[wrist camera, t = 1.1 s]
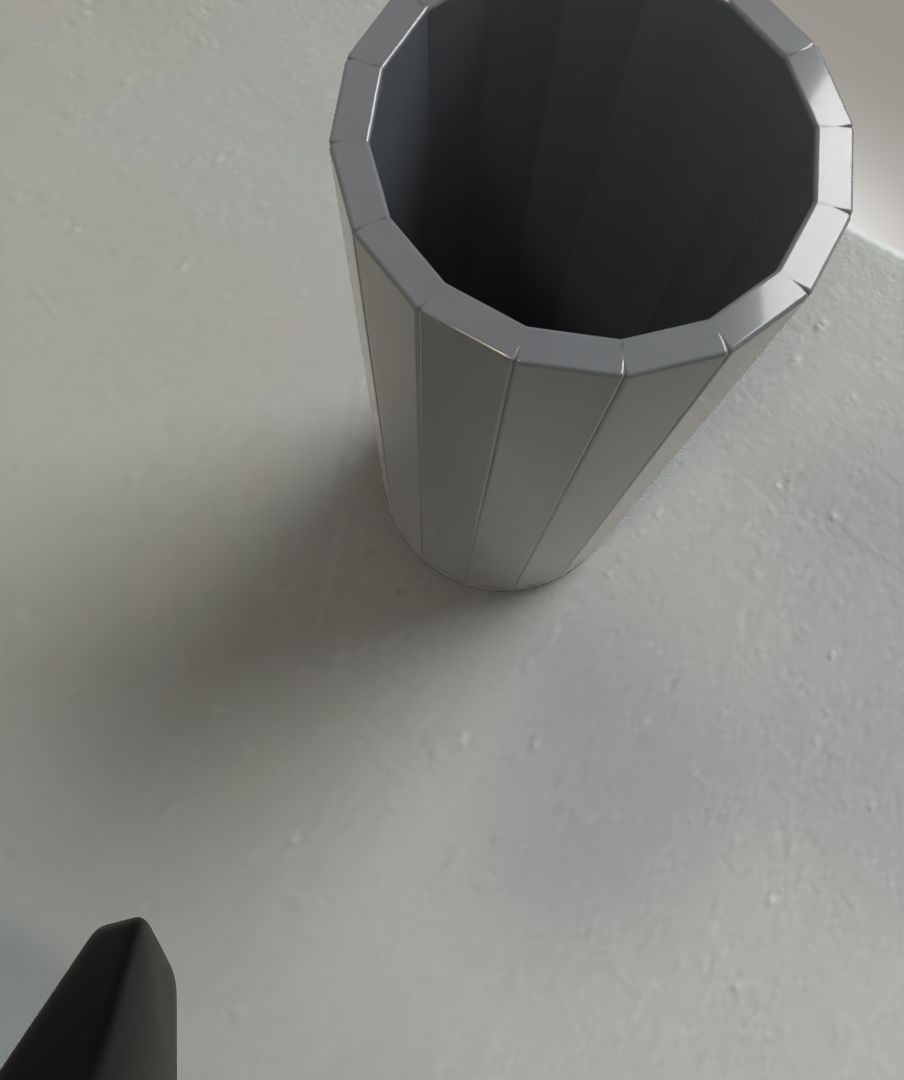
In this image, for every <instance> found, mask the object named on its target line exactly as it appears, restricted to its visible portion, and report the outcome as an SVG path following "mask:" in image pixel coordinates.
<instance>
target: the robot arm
mask: <svg viewBox="0 0 904 1080" xmlns="http://www.w3.org/2000/svg"><path fill="white" fill-rule="evenodd" d="M0 1080H177V995H176V983H175V977H174V974H173V970H172V968H171V965H170V963H169V962H168V960H167V958H166V956H165V954H164V952H163V950H162V948H161V946H160V944H159V942H158V940H157V938H156V937H155V935H154V933H153V931H152V929H151V927H150V925H149V924H148V922H147V921H146V920H144V919H143V918H141V917H135V918H131V919H127V920H123V921H119V922H115V923H112V924H108V925H105V926H102V927H100V928H99V929H97V930H96V931H95V932H94V933H93V934H92V936H91V937H90V938H89V940H88V941H87V943H86V944H85V946H84V947H83V948H82V950H81V951H80V953H79V954H78V956H77V957H76V959H75V960H74V962H73V963H72V965H71V966H70V968H69V969H68V971H67V972H66V974H65V975H64V977H63V978H62V980H61V981H60V982H59V984H58V985H57V987H56V988H55V990H54V991H53V993H52V994H51V996H50V997H49V999H48V1000H47V1002H46V1003H45V1005H44V1006H43V1008H42V1009H41V1011H40V1012H39V1014H38V1015H37V1016H36V1018H35V1019H34V1021H33V1022H32V1024H31V1025H30V1027H29V1028H28V1030H27V1031H26V1033H25V1034H24V1036H23V1037H22V1039H21V1040H20V1042H19V1043H18V1045H17V1046H16V1048H15V1049H14V1050H13V1052H12V1053H11V1055H10V1056H9V1058H8V1059H7V1061H6V1062H5V1064H4V1065H3V1067H2V1068H1V1070H0Z"/></svg>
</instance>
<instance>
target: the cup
mask: <svg viewBox="0 0 904 1080" xmlns="http://www.w3.org/2000/svg"><path fill="white" fill-rule="evenodd" d="M329 143H330V149H329V150H330V157H331V163H332V169H333V175H334V181H335V188H336V194H337V200H338V206H339V212H340V219H341V225H342V231H343V237H344V243H345V250H346V256H347V262H348V268H349V274H350V281H351V287H352V293H353V299H354V305H355V312H356V318H357V324H358V330H359V336H360V343H361V349H362V355H363V361H364V367H365V374H366V380H367V386H368V392H369V398H370V405H371V411H372V417H373V423H374V429H375V436H376V442H377V448H378V454H379V460H380V467H381V473H382V478H383V482H384V486H385V490H386V494H387V499H388V504H389V507H390V511H391V514H392V518H393V519H394V522H395V523H396V525H397V527H398V529H399V531H400V533H401V535H402V536H403V538H404V539H405V540H406V542H407V543H408V545H409V546H410V547H411V548H412V549H413V551H414V552H415V553H416V554H417V555H418V556H419V557H420V558H421V559H422V560H423V561H425V562H426V563H427V564H428V565H429V566H431V567H432V568H434V569H435V570H437V571H438V572H440V573H441V574H443V575H444V576H446V577H448V578H450V579H452V580H455V581H457V582H459V583H462V584H465V585H468V586H471V587H475V588H480V589H485V590H494V591H516V590H523V589H529V588H534V587H537V586H540V585H543V584H546V583H549V582H551V581H553V580H555V579H557V578H560V577H562V576H563V575H565V574H566V573H568V572H570V571H571V570H573V569H574V568H576V567H577V566H578V565H579V564H580V563H581V562H582V561H584V560H585V559H586V558H587V557H588V556H589V555H590V554H591V553H593V552H594V551H595V550H597V548H598V547H599V546H600V545H601V544H602V543H603V541H604V540H605V539H606V538H607V537H608V535H609V534H610V533H611V532H612V531H613V529H614V528H615V527H616V526H617V525H618V523H619V522H620V521H621V520H622V519H623V517H624V516H625V515H626V514H627V513H628V512H629V510H630V509H631V508H632V507H633V506H634V504H635V503H636V502H637V501H638V500H639V498H640V497H641V496H642V495H643V494H644V492H645V491H646V490H647V489H648V488H649V486H650V485H651V484H652V483H653V482H654V481H655V479H656V478H657V477H658V476H659V475H660V473H661V472H662V471H663V470H664V469H665V467H666V466H667V465H668V464H669V463H670V461H671V460H672V459H673V458H674V457H675V456H676V454H677V453H678V452H679V451H680V450H681V448H682V447H683V446H684V445H685V444H686V442H687V441H688V440H689V439H690V438H691V436H692V435H693V434H694V433H695V432H696V430H697V429H698V428H699V427H700V426H701V425H702V423H703V422H704V421H705V420H706V419H707V417H708V416H709V415H710V414H711V413H712V411H713V410H714V409H715V408H716V407H717V405H718V404H719V403H720V402H721V401H722V399H723V398H724V397H725V396H726V395H727V394H728V392H729V391H730V390H731V389H732V388H733V386H734V385H735V384H736V383H737V382H738V380H739V379H740V378H741V377H742V376H743V374H744V373H745V372H746V371H747V370H748V368H749V367H750V366H751V365H752V364H753V363H754V361H755V360H756V359H757V358H758V357H759V355H760V354H761V353H762V352H763V351H764V349H765V348H766V347H767V346H768V345H769V343H770V342H771V341H772V340H773V339H774V337H775V336H776V335H777V334H778V333H779V332H780V330H781V329H782V328H783V327H784V326H785V324H786V323H787V322H788V321H789V320H790V318H791V317H792V316H793V315H794V314H795V312H796V311H797V310H798V309H799V308H800V307H801V305H802V304H803V303H804V302H805V301H806V299H807V298H808V297H809V296H810V295H811V293H812V292H813V290H814V288H815V286H816V284H817V282H818V280H819V278H820V276H821V275H822V273H823V271H824V269H825V267H826V265H827V263H828V261H829V259H830V257H831V256H832V254H833V252H834V250H835V248H836V246H837V244H838V242H839V240H840V238H841V237H842V235H843V233H844V231H845V229H846V227H847V225H848V223H849V221H850V216H851V213H852V205H853V204H852V202H853V199H852V198H853V197H852V196H853V128H852V121H851V119H850V117H849V115H848V112H847V110H846V108H845V106H844V104H843V101H842V100H841V97H840V95H839V92H838V90H837V88H836V86H835V84H834V82H833V79H832V77H831V75H830V73H829V70H828V68H827V66H826V64H825V62H824V59H823V57H822V55H821V53H820V50H819V48H818V47H815V44H814V42H813V41H812V40H811V39H810V38H809V37H807V35H806V34H804V32H802V31H801V30H800V29H799V28H798V27H797V26H796V25H795V24H794V23H793V22H792V21H791V20H790V19H789V18H788V17H787V16H786V15H785V14H784V13H783V12H782V11H781V10H780V9H779V8H778V7H777V6H776V5H774V3H773V2H771V1H770V0H390V1H389V2H388V4H387V5H386V6H385V8H384V9H383V10H382V12H381V13H380V14H379V16H378V17H377V18H376V20H375V21H374V22H373V23H372V25H371V26H370V27H369V29H368V30H367V31H366V33H365V34H364V35H363V37H362V38H361V39H360V40H359V42H358V43H357V44H356V46H355V47H354V48H353V50H352V51H351V52H350V54H349V55H348V58H347V61H346V63H345V66H344V71H343V76H342V81H341V86H340V91H339V95H338V100H337V105H336V110H335V115H334V120H333V125H332V130H331V134H330V139H329Z"/></svg>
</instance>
